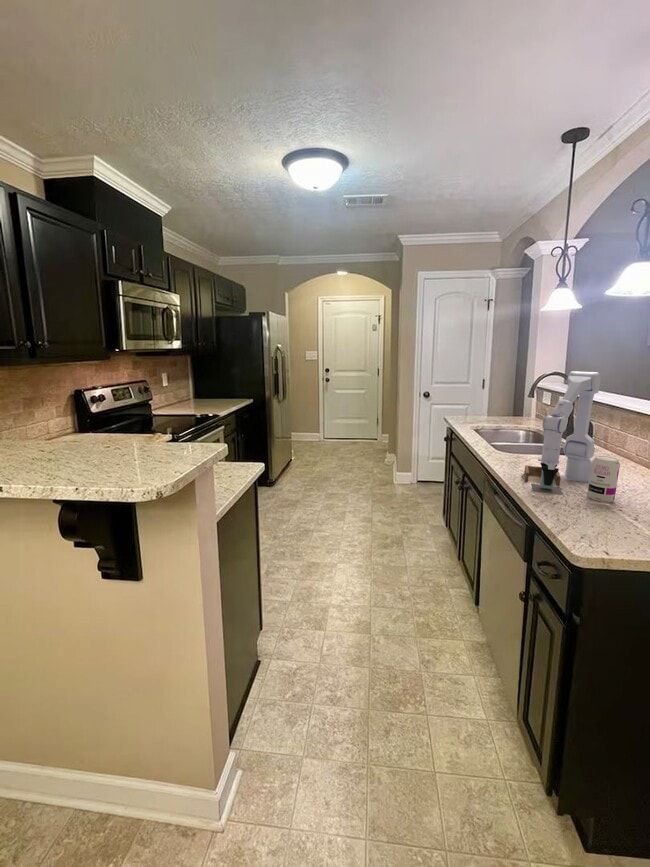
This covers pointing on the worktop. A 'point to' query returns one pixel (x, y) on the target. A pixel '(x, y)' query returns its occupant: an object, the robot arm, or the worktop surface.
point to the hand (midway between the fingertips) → (547, 483)
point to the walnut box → (537, 475)
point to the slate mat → (546, 489)
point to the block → (544, 484)
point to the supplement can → (603, 478)
